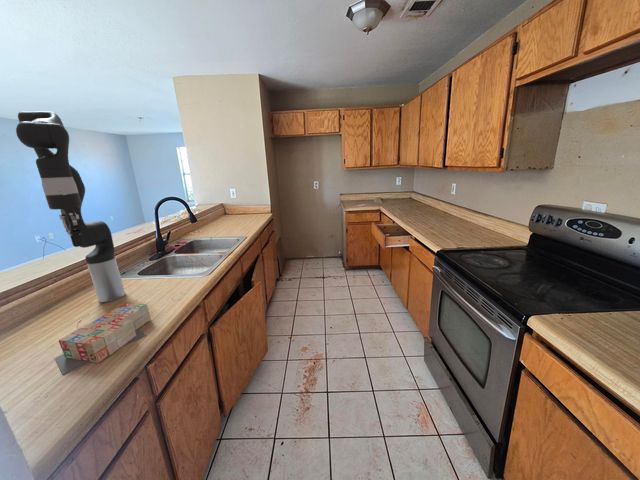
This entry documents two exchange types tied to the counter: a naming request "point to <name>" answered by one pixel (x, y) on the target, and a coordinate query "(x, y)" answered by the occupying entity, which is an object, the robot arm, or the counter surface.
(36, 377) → the counter surface
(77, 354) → the stack of blocks
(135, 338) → the mat
